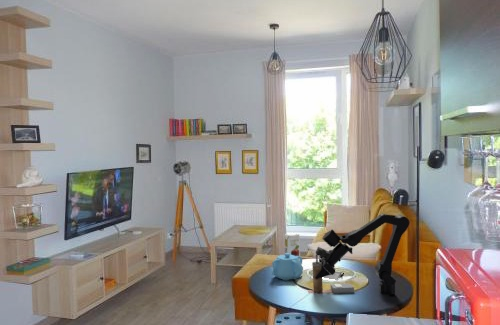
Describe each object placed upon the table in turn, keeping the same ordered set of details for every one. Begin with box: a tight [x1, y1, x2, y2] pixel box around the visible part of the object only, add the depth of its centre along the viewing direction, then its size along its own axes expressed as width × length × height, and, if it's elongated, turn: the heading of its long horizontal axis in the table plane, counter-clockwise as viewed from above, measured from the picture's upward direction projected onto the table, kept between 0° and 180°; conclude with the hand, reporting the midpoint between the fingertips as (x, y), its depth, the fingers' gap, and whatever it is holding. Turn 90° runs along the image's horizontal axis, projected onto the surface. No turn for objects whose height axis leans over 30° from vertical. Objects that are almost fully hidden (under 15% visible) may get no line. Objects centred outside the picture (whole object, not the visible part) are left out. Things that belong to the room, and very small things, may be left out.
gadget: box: [309, 270, 343, 281], centre depth 218 cm, size 23×15×4 cm, turn 155°
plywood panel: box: [306, 289, 334, 294], centre depth 187 cm, size 22×16×1 cm
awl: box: [311, 254, 324, 294], centre depth 192 cm, size 4×4×18 cm
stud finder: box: [330, 282, 355, 294], centre depth 192 cm, size 10×6×3 cm, turn 93°
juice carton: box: [283, 232, 301, 261], centre depth 244 cm, size 8×9×19 cm
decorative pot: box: [271, 252, 304, 282], centre depth 218 cm, size 16×16×14 cm
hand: (314, 275), depth 192 cm, fingers open, 8 cm apart
